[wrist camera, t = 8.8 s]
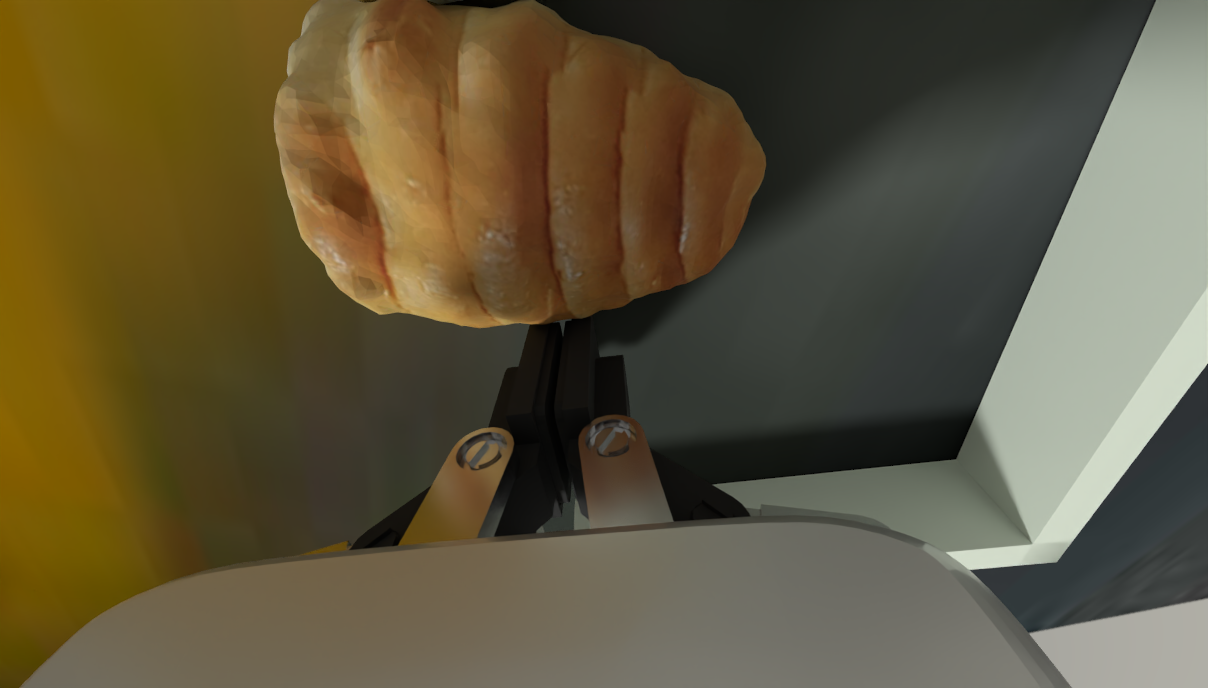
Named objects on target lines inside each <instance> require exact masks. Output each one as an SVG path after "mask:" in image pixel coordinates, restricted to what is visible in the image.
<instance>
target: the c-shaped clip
mask: <svg viewBox="0 0 1208 688" xmlns="http://www.w3.org/2000/svg"><path fill="white" fill-rule="evenodd" d="M428 1H431V2H433V3H436V4H439V5H440V4H446V3H451V2H457V1H462V0H428ZM1207 364H1208V0H1156V2H1155V4H1154V6H1153V9H1152V11H1151V13H1150V16H1149V18H1148V20H1147V23H1146V25H1145V27H1144V29H1143V32H1142V34H1141V36H1140V39H1139V41H1138V43H1137V45H1136V48H1135V50H1134V52H1133V55H1132V57H1131V59H1130V62H1129V64H1128V66H1127V68H1126V71H1125V73H1124V75H1123V78H1122V80H1121V82H1120V84H1119V87H1118V89H1117V91H1116V94H1115V96H1114V98H1113V101H1112V103H1111V105H1110V107H1109V110H1108V112H1107V114H1106V117H1105V119H1104V121H1103V124H1102V126H1101V128H1100V130H1099V133H1098V135H1097V137H1096V140H1095V142H1094V144H1093V146H1092V149H1091V151H1090V153H1089V156H1088V158H1087V160H1086V163H1085V165H1084V167H1083V169H1082V172H1081V174H1080V176H1079V179H1078V181H1077V183H1076V185H1075V188H1074V190H1073V192H1072V195H1071V197H1070V199H1069V202H1068V204H1067V206H1066V208H1065V211H1064V213H1063V215H1062V218H1061V220H1060V222H1059V224H1058V227H1057V229H1056V231H1055V234H1054V236H1053V238H1052V241H1051V243H1050V245H1049V247H1048V250H1047V252H1046V254H1045V257H1044V259H1043V261H1042V263H1041V266H1040V268H1039V270H1038V273H1037V275H1036V277H1035V280H1034V282H1033V284H1032V286H1031V289H1030V291H1029V293H1028V296H1027V298H1026V300H1025V302H1024V305H1023V307H1022V309H1021V312H1020V314H1019V316H1018V319H1017V321H1016V323H1015V325H1014V328H1013V330H1012V332H1011V335H1010V337H1009V339H1008V341H1007V344H1006V346H1005V348H1004V351H1003V353H1002V355H1001V358H1000V360H999V362H998V364H997V367H996V369H995V371H994V374H993V376H992V378H991V380H990V383H989V385H988V387H987V390H986V392H985V394H984V397H983V399H982V401H981V403H980V406H979V408H978V410H977V413H976V415H975V417H974V419H973V422H972V424H971V426H970V429H969V431H968V433H967V436H966V438H965V440H964V442H963V445H962V447H961V449H960V452H959V454H958V456H957V458H956V459H955V460H945V461H936V462H926V463H916V464H906V465H897V466H887V467H877V468H868V469H858V470H848V471H839V472H829V473H819V474H810V475H800V476H790V477H781V478H771V479H761V480H751V481H742V482H732V483H722V484H713V485H714V486H715V487H717V488H719V489H720V490H722V491H724V492H726V493H727V494H729V495H731V496H732V497H734V498H735V499H736V500H738V501H739V502H740V503H742V504H743V506H744V507H745V508H753V509H760V507H761V504H765V505H774V506H783V507H792V508H801V509H810V510H819V511H827V512H836V513H845V514H854V515H861V516H865V517H869V518H873V519H875V520H877V521H879V522H881V523H883V524H884V525H886V526H888V527H889V528H890V529H892V530H895V531H898V532H901V533H904V534H907V535H909V536H912V537H914V538H917V539H919V540H922V541H924V542H927V543H929V544H931V545H933V546H935V547H936V548H938V549H940V550H942V551H944V552H946V553H947V554H948V555H950V556H951V557H953V558H954V559H955V560H957V561H958V562H960V563H961V564H962V565H964V566H965V567H966V568H967V569H968V570H971V569H983V568H994V567H1006V566H1017V565H1029V564H1040V563H1051V562H1057V561H1058V560H1059V558H1060V557H1061V556H1062V554H1063V553H1064V552H1065V550H1066V549H1067V548H1068V546H1069V545H1070V544H1071V543H1072V541H1073V540H1074V539H1075V537H1076V536H1077V535H1078V533H1079V532H1080V531H1081V529H1082V528H1083V527H1084V525H1085V524H1086V523H1087V521H1088V520H1089V519H1090V518H1091V516H1092V515H1093V514H1094V512H1095V511H1096V510H1097V508H1098V507H1099V506H1100V504H1101V503H1102V502H1103V500H1104V499H1105V498H1106V496H1107V495H1108V494H1109V493H1110V491H1111V490H1112V489H1113V487H1114V486H1115V485H1116V483H1117V482H1118V481H1119V479H1120V478H1121V477H1122V475H1123V474H1124V473H1125V471H1126V470H1127V469H1128V468H1129V466H1130V465H1131V464H1132V462H1133V461H1134V460H1135V458H1136V457H1137V456H1138V454H1139V453H1140V452H1141V450H1142V449H1143V448H1144V446H1145V445H1146V444H1147V443H1148V441H1149V440H1150V439H1151V437H1152V436H1153V435H1154V433H1155V432H1156V431H1157V429H1158V428H1159V427H1160V425H1161V424H1162V423H1163V421H1164V420H1165V419H1166V418H1167V416H1168V415H1169V414H1170V412H1171V411H1172V410H1173V408H1174V407H1175V406H1176V404H1177V403H1178V402H1179V400H1180V399H1181V398H1182V396H1183V395H1184V394H1185V393H1186V391H1187V390H1188V389H1189V387H1190V386H1191V385H1192V383H1193V382H1194V381H1195V379H1196V378H1197V377H1198V375H1199V374H1200V373H1201V371H1202V370H1203V369H1204V368H1205V366H1206V365H1207ZM580 529H590V522H589V520H588V519H587V518H586V517H585V516H583V515H582V514H581V512H580V508H579V504H578V502H577V500H576V499H575V516H574V530H580Z"/></svg>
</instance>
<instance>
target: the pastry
mask: <svg viewBox="0 0 1208 688" xmlns="http://www.w3.org/2000/svg"><path fill="white" fill-rule="evenodd" d="M287 73H288V78H287V79H286V80H285V82H284V83H283V84H282V86H281V88H280V90H279V92H278V96H277V99H276V104H275V112H274V131H275V133H276V143H277V146H278V149H279V152H280V162H281V169H282V174H283V177H284V180H285V184H286V188H287V193H288V196H289V199H290V202H291V204H292V207H293V210H294V214H295V218H296V222H297V225H298V228H299V232H300V235H301V238H302V239H303V240H304V241H305V243H306V244H307V245H308V247H309V248H310V249H311V250H312V251H313V252H314V253H315V254H316V255H317V256H318V257H319V258H320V259H321V260H322V262H323V263H324V264H325V267H326V271H327V274H328V275H329V277H330V278H331V279H332V281H333V282H334V283H335V284H336V286H337V287H338V288H339V289H340V290H341V291H343V292H344V293H346V294H347V295H348V296H350V297H351V298H352V299H354V300H355V301H356V302H358V303H360V304H362V305H363V306H365V307H367V308H369V309H371V310H373V311H374V312H376V313H378V314H390V313H395V312H401V313H409V314H414V315H419V316H423V317H427V318H431V319H434V320H437V321H441V322H450V323H455V324H458V325H461V326H471V327H476V328H486V327H492V326H499V325H508V324H513V323H525V324H541V325H544V324H549V323H552V322H554V321H560V320H565V319H582V318H586V317H589V316H591V315H593V314H594V313H596V312H598V311H600V310H609V309H614V308H619V307H623V306H625V305H626V304H628V303H629V302H630V301H632V300H633V299H636V298H640V297H643V296H645V295H648V294H650V293H655V292H659V291H663V290H669V289H671V288H673V287H674V286H677V285H681V284H686V283H689V282H691V281H693V280H694V279H696V278H698V277H700V276H703V275H705V274H708V273H709V272H710V271H711V270H712V269H713V268H714V267H715V266H716V265H717V264H718V263H719V261H720V260H721V259H722V258H723V257H724V256H725V255H726V253H727V252H728V251H729V250H730V249H731V248H732V247H733V245H734V243H735V241H736V239H737V237H738V235H739V233H740V231H741V228H742V226H743V224H744V221H745V219H746V216H747V213H748V210H749V207H750V204H751V200H752V197H753V196H754V195H755V193H756V192H757V190H758V189H759V187H760V185H761V183H762V180H763V178H764V173H765V168H766V156H765V154H764V152H763V150H762V147H761V145H760V143H759V142H758V141H757V139H756V138H755V136H754V135H753V132H752V130H751V128H750V126H749V125H748V123H747V122H746V121H745V120H744V117H743V114H742V112H741V110H740V109H739V107H738V106H737V104H736V102H735V101H734V99H733V98H732V97H731V96H730V95H729V94H728V93H727V92H725V91H723V90H721V89H719V88H717V87H714V86H712V85H709V84H707V83H705V82H703V81H701V80H699V79H697V78H692V77H688V76H686V75H684V74H682V73H681V72H680V71H679V70H677V69H676V68H675V67H674V66H673V65H672V64H671V63H670V62H668V61H665V60H662V59H659V58H658V57H657V56H656V55H655V54H653V53H652V52H651V51H650V50H648V49H646V48H645V47H643V46H640V45H636V44H632V43H629V42H627V41H624V40H621V39H617V38H613V37H610V36H602V35H595V34H591V33H589V32H587V31H584V30H581V29H578V28H576V27H573V26H571V25H569V24H568V23H567V22H565V21H564V20H563V19H562V18H561V17H560V16H559V15H558V14H557V13H556V12H555V11H553V10H551V9H550V8H548V7H546V6H544V5H542V4H540V3H538V2H537V1H535V0H522V1H516V2H513V3H511V4H508V5H505V6H501V7H497V8H484V7H472V6H460V5H431V4H430V3H428V2H427V1H426V0H377V1H375V2H368V3H363V2H360V1H357V0H319V1H318V2H316V3H315V4H314V5H313V6H312V7H311V9H310V10H309V11H308V13H307V14H306V16H305V19H304V22H303V26H302V33H301V37H299V38H298V39H297V40H296V41H294V42H293V44H292V45H291V47H290V48H289V55H288V66H287Z"/></svg>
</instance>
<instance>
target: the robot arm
mask: <svg viewBox="0 0 1208 688" xmlns="http://www.w3.org/2000/svg"><path fill="white" fill-rule="evenodd" d="M571 482H572V485H573V489H574V493H575V497H576V500H577V502H578V504H579V508H580V512H581V514H582V515H583V516H585V517H586V518H587V519H588V520H589V522H590V529H580V530H568V531H556V532H545V533H544V529H543V524H545V523H546V522H547V521H548V520H549V519H550V518H554V517H562V509H563V503H569V502H570V497H571ZM20 688H1072V687H1071V686H1070V685H1069V683H1068V682H1067V681H1066V679H1065V678H1064V677H1063V676H1062V674H1061V673H1060V672H1059V671H1058V669H1057V668H1056V667H1055V666H1054V664H1053V663H1052V662H1051V661H1050V660H1049V658H1048V657H1047V656H1046V654H1045V653H1044V652H1043V651H1042V649H1041V648H1040V647H1039V646H1038V644H1037V643H1036V642H1035V641H1034V640H1033V638H1032V637H1031V636H1030V635H1029V633H1028V632H1027V631H1026V630H1025V629H1024V627H1023V626H1022V625H1021V624H1020V623H1019V622H1018V620H1017V619H1016V618H1015V617H1014V616H1013V615H1012V613H1011V612H1010V611H1009V610H1008V609H1007V608H1006V607H1005V605H1004V604H1003V603H1002V602H1001V601H1000V600H999V599H998V598H997V597H996V596H995V595H994V594H993V593H992V591H991V590H990V589H989V588H988V587H987V586H986V585H985V584H983V583H982V582H981V581H980V580H979V579H978V578H977V577H976V576H975V575H974V574H973V573H972V572H971V571H970V570H968V569H967V568H966V567H965V566H964V565H962V564H961V563H960V562H958V561H957V560H955V559H954V558H953V557H951V556H950V555H948V554H947V553H946V552H944V551H942V550H940V549H938V548H936V547H935V546H933V545H931V544H929V543H927V542H924V541H922V540H919V539H917V538H914V537H912V536H909V535H907V534H904V533H901V532H898V531H895V530H892V529H890V528H889V527H888V526H886V525H884V524H883V523H881V522H879V521H877V520H875V519H873V518H869V517H865V516H861V515H854V514H845V513H836V512H827V511H819V510H810V509H801V508H792V507H783V506H774V505H765V504H761V507H760V509H753V508H745V507H744V506H743V504H742V503H740V502H739V501H738V500H736V499H735V498H734V497H732V496H731V495H729V494H727V493H726V492H724V491H722V490H720V489H719V488H717V487H715V486H714V485H712V484H710V483H709V482H707V481H705V480H703V479H702V478H700V477H698V476H697V475H695V474H693V473H692V472H690V471H688V470H686V469H685V468H683V467H681V466H680V465H678V464H676V463H675V462H673V461H671V460H669V459H668V458H666V457H664V456H663V455H661V454H659V453H658V452H656V451H654V450H652V449H651V448H649V446H648V443H647V440H646V437H645V434H644V431H643V429H642V427H641V426H640V424H639V423H638V422H637V421H635V420H634V419H632V418H630V408H629V397H628V388H627V380H626V372H625V365H624V358H623V355H617V356H608V357H600V356H599V350H598V344H597V338H596V332H595V326H594V320H593V315H591V316H589V317H586V318H582V319H572V321H566V322H565V328H564V336H563V335H562V331H561V326H560V323H559V322H555V323H553V322H552V323H549V324H544V325H541V324H530V326H529V330H528V334H527V338H526V341H525V345H524V349H523V352H522V356H521V360H520V364H519V367H511V368H508V369H507V370H506V372H505V375H504V378H503V381H502V385H501V388H500V391H499V394H498V398H497V401H496V404H495V407H494V411H493V414H492V417H491V420H490V424H489V427H488V428H483V429H480V430H477V431H474V432H472V433H470V434H468V435H467V436H465V437H464V438H462V439H461V440H460V441H459V442H458V443H457V444H456V445H455V447H454V448H453V449H452V451H451V452H450V454H449V456H448V458H447V460H446V461H445V463H444V465H443V467H442V468H441V470H440V472H439V474H438V476H437V477H436V479H435V481H434V483H433V484H432V486H430V487H429V488H427V489H426V490H425V491H423V492H422V493H420V494H419V495H417V496H416V497H415V498H413V499H412V500H410V501H409V502H408V503H406V504H405V505H403V506H402V507H400V508H399V509H398V510H396V511H395V512H393V513H392V514H390V515H389V516H388V517H386V518H385V519H383V520H382V521H381V522H379V523H378V524H376V525H375V526H373V527H372V528H371V529H369V530H368V531H367V532H365V533H364V534H363V535H362V536H361V537H360V538H358V539H357V541H356V542H355V543H354V544H353V545H351V544H350V543H349V541H346V542H343V543H339V544H336V545H332V546H329V547H326V548H322V549H319V550H316V551H312V552H309V553H305V554H302V555H299V556H291V557H282V558H273V559H266V560H259V561H253V562H246V563H239V564H233V565H229V566H224V567H219V568H215V569H210V570H206V571H202V572H198V573H195V574H192V575H188V576H185V577H182V578H178V579H175V580H172V581H170V582H167V583H165V584H162V585H160V586H157V587H155V588H152V589H150V590H148V591H145V592H143V593H140V594H138V595H136V596H133V597H131V598H129V599H127V600H125V601H123V602H121V603H119V604H118V605H116V606H114V607H112V608H110V609H109V610H107V611H105V612H103V613H102V614H100V615H99V616H97V617H96V618H94V619H93V620H91V621H90V622H89V623H87V624H86V625H85V626H84V627H83V628H81V629H80V630H79V631H78V632H77V633H75V634H74V635H73V636H72V637H71V638H70V639H69V640H67V641H66V642H65V643H64V644H63V645H62V646H61V647H60V648H59V649H58V650H57V651H56V652H55V653H54V654H53V655H52V656H51V657H50V658H49V659H48V660H46V661H45V662H44V663H43V664H42V665H41V666H40V667H39V668H38V669H37V670H36V671H35V672H34V673H33V674H32V675H31V676H30V677H29V678H28V679H27V680H26V681H25V682H24V683H23V684H22V685H21V687H20Z"/></svg>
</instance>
